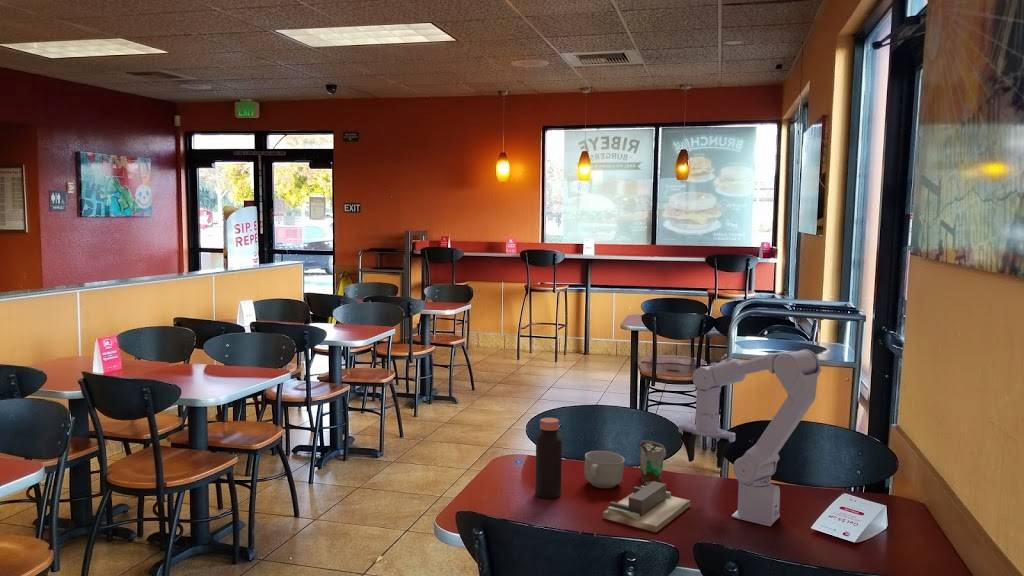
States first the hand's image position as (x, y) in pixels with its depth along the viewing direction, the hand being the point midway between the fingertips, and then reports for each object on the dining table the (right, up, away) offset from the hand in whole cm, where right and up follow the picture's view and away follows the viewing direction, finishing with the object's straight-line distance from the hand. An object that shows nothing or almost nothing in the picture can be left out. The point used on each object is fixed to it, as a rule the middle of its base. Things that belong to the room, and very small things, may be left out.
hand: (705, 463), depth 198 cm
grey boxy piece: (-19, -8, -7) cm, 22 cm away
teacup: (-26, -8, +9) cm, 29 cm away
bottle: (-41, -9, +3) cm, 42 cm away
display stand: (-16, -10, -8) cm, 21 cm away
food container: (-11, -8, +13) cm, 19 cm away
